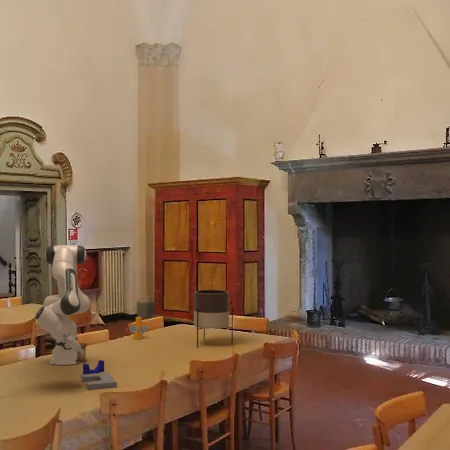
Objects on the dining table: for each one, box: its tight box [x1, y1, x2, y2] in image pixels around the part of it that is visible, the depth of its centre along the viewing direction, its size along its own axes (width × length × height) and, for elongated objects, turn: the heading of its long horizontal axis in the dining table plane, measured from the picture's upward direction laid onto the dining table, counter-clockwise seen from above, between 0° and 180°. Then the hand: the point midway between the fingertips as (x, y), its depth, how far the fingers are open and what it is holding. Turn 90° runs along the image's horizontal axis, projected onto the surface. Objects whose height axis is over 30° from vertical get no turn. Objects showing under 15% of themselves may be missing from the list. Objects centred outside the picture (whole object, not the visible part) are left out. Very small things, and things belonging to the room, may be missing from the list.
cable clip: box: [82, 359, 105, 375], centre depth 316 cm, size 12×4×6 cm, turn 142°
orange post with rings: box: [129, 316, 148, 340], centre depth 412 cm, size 12×10×15 cm
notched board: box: [80, 371, 118, 391], centre depth 297 cm, size 20×14×2 cm
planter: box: [193, 289, 234, 349], centre depth 393 cm, size 26×25×35 cm
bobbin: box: [76, 342, 88, 364], centre depth 294 cm, size 6×6×9 cm
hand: (82, 351), depth 294 cm, fingers closed on bobbin, 4 cm apart
